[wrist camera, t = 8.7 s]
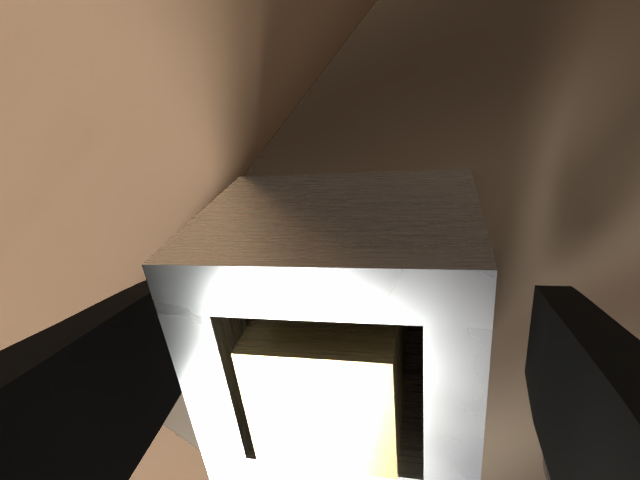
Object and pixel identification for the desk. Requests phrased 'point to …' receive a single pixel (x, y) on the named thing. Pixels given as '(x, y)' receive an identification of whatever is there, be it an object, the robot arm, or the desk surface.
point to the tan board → (495, 158)
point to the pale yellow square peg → (324, 393)
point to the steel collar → (336, 303)
